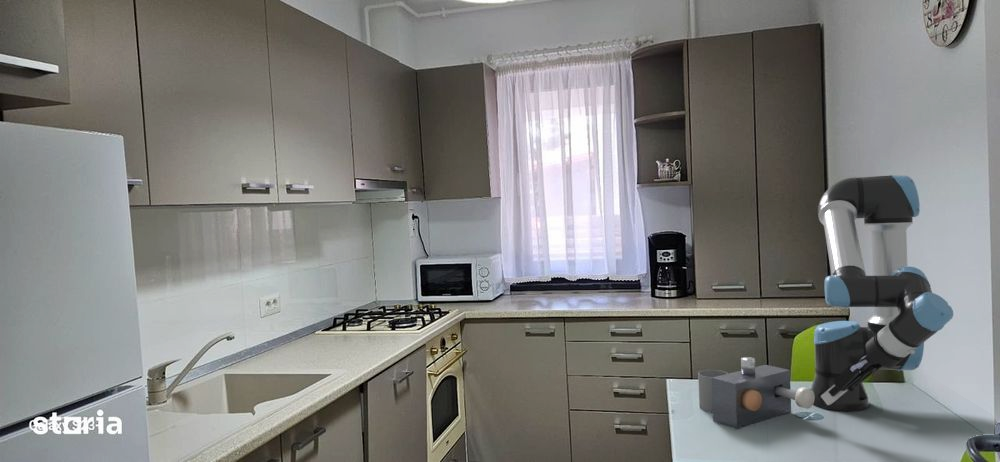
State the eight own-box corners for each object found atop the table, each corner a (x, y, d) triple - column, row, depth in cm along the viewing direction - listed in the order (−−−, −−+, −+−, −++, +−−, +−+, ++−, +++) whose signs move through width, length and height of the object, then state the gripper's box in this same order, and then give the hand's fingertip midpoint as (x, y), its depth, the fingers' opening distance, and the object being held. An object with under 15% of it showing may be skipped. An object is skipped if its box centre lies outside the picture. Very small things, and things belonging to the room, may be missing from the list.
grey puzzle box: (791, 412, 181) (789, 370, 181) (736, 429, 170) (735, 383, 170) (766, 405, 188) (765, 364, 188) (713, 421, 177) (711, 377, 177)
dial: (754, 371, 181) (754, 357, 181) (756, 374, 178) (755, 360, 177) (740, 371, 182) (740, 357, 182) (742, 374, 179) (741, 360, 178)
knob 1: (762, 408, 172) (761, 389, 172) (748, 412, 170) (748, 393, 170) (732, 400, 181) (731, 381, 181) (719, 403, 178) (718, 384, 178)
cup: (731, 412, 184) (730, 377, 184) (701, 412, 186) (699, 377, 185) (727, 403, 192) (726, 369, 192) (698, 403, 194) (697, 369, 193)
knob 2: (814, 406, 172) (814, 387, 172) (802, 410, 170) (801, 390, 169) (782, 398, 181) (782, 379, 180) (770, 401, 178) (769, 382, 178)
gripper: (886, 363, 146) (819, 418, 161) (918, 354, 152) (851, 408, 167) (862, 336, 150) (799, 392, 165) (894, 329, 157) (831, 383, 172)
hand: (825, 400), depth 166 cm, fingers closed
